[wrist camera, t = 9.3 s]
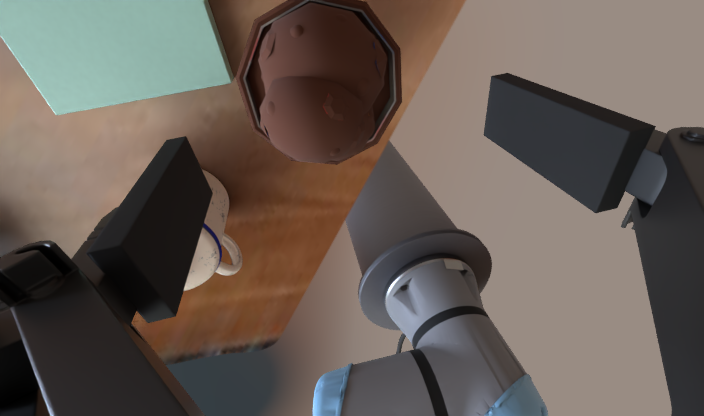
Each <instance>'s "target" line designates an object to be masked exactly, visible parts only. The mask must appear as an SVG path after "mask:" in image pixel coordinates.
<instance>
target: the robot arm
mask: <svg viewBox="0 0 704 416" xmlns="http://www.w3.org/2000/svg"><path fill="white" fill-rule="evenodd" d="M655 127H656V126H653V125H651V124H648V123H645V122H642V121H640V120H637V119H634V118H631V117H628V116H625V115H623V114H620V113H617V112H615V111H612V110H609V109H606V108H603V107H600V106H598V105H595V104H592V103H590V102H586V101H584V100H581V99H578V98H576V97H572V96H570V95H567V94H565V93H562V92H559V91H556V90H553V89H551V88H548V87H545V86H542V85H539V84H537V83H534V82H531V81H528V80H526V79H523V78H520V77H517V76H514V75H512V74H509V73H505V74H501V75H495V76H492V77H491V83H490V91H489V98H488V106H487V114H486V121H485V129H484V136H486V137H487V138H489V139H490V140H491V141H493V142H494V143H496V144H497V145H499V146H500V147H502V148H503V149H504V150H506V151H507V152H509V153H510V154H512V155H513V156H514V157H516V158H517V159H519V160H520V161H522V162H523V163H524V164H526V165H527V166H529V167H530V168H532V169H533V170H534V171H536V172H537V173H539V174H540V175H542V176H543V177H544V178H546V179H547V180H549V181H550V182H552V183H553V184H554V185H556V186H557V187H559V188H560V189H562V190H563V191H565V192H566V193H567V194H569V195H570V196H572V197H573V198H575V199H576V200H577V201H579V202H580V203H582V204H583V205H585V206H586V207H587V208H589V209H590V210H592V211H593V212H595V213H599V212H602V211H607V210H611V209H615V208H617V207H618V205H619V203H620V201H621V199H622V197H623V195H624V192H625V191H626V192H628V193H629V194H631V195H633V196H635V198H634V200H633V202H632V204H631V206H630V208H629V210H628V212H627V215H626V216H625V218H624V220H623V222H622V225H621V227H623V228H625V227H626V226H627V224H628V223H630V222H633V223H634V225H633V227H632V229H634V230H635V233H636V238H637V243H638V247H639V252H640V257H641V262H642V266H643V271H644V275H645V280H646V285H647V290H648V295H649V300H650V305H651V309H652V314H653V318H654V323H655V328H656V333H657V338H658V343H659V347H660V352H661V356H662V362H663V366H664V371H665V376H666V381H667V385H668V390H669V395H670V399H671V406H672V416H704V128H701V127H681V128H674V129H671V130H669V131H668V132H667V134H666V133H663V132H660V131H657V130H655ZM212 195H213V192H212V190H211V188H210V186H209V184H208V181H207V179H206V177H205V175H204V173H203V171H202V169H201V167H200V165H199V163H198V160H197V158H196V156H195V154H194V152H193V150H192V148H191V146H190V144H189V141H188V139H187V137H186V136H185V137H180V138H175V139H170V140H166V142H165V143H164V144H163V146H162V147H161V149H160V150H159V151H158V153H157V154H156V156H155V157H154V158H153V160H152V161H151V163H150V164H149V165H148V167H147V168H146V170H145V171H144V172H143V174H142V175H141V177H140V178H139V179H138V181H137V182H136V184H135V185H134V186H133V188H132V189H131V191H130V192H129V193H128V195H127V196H126V198H125V199H124V200H123V202H122V203H121V204H120V206H119V207H117V208H115V209H114V210H112V211H111V212H110V213H108V214H107V215H106V216H105V217H103V218H102V219H101V221H100V222H99V223H98V225H97V226H96V227H95V229H94V231H93V232H92V233H91V234H90V235H89V237H88V238H87V241H85V242H84V243H83V245H82V246H81V247H80V249H79V250H78V251H77V253H76V254H75V255H74V257H73V258H72V259H70V258H69V257H68V256H67V255H66V254H65V253H64V252H63V251H62V249H61V248H60V247H59V246H58V245H57V244H56V243H54V242H52V241H39V242H35V243H31V244H28V245H25V246H23V247H21V248H18V249H16V250H13V251H12V252H10V253H8V254H6V255H5V256H3V257H1V258H0V300H1V301H3V302H4V303H5V304H6V305H8V306H9V307H10V309H8V310H5V311H3V312H0V416H205V415H204V414H203V413H202V411H201V410H200V409H199V407H198V406H197V405H196V404H195V402H194V401H193V400H192V398H191V397H190V396H189V395H188V393H187V392H186V391H185V390H184V388H183V387H182V386H181V385H180V383H179V382H178V381H177V379H176V378H175V377H174V376H173V374H172V373H171V372H170V371H169V370H168V368H167V367H166V365H165V364H164V363H163V362H162V360H161V359H160V358H159V357H158V355H157V354H156V353H155V351H154V350H153V349H152V348H151V346H150V345H149V344H148V343H147V341H146V340H145V339H144V338H143V336H142V335H141V334H140V332H139V331H138V330H137V329H136V328H135V327H134V326H133V325H132V324H131V322H132V320H133V317H134V315H135V313H136V311H138V313H139V314H140V315H141V316H142V317H143V318H144V319H145V320H146V321H147V323H150V322H154V321H158V320H162V319H167V318H171V317H175V316H176V314H177V311H178V307H179V304H180V301H181V297H182V294H183V291H184V287H185V284H186V281H187V277H188V274H189V271H190V267H191V264H192V261H193V257H194V254H195V251H196V248H197V244H198V241H199V238H200V234H201V231H202V228H203V224H204V221H205V218H206V214H207V211H208V208H209V204H210V201H211V198H212ZM383 300H384V304H385V307H386V310H387V312H388V314H389V315H390V317H391V318H392V320H393V321H394V322H395V323H396V325H397V326H398V327H399V328H400V329H401V331H402V332H403V334H402V335H401V337H400V339H399V342H398V348H397V352H396V354H395V355H391V356H387V357H383V358H379V359H375V360H371V361H367V362H363V363H359V364H355V365H353V364H352V363H351V364H349V365H348V366H346V367H344V368H340V369H337V370H334V371H331V372H328V373H325V374H324V375H322V376H321V378H320V379H319V380H318V382H317V385H316V388H315V393H314V401H313V416H548V411H547V408H546V405H545V403H544V402H543V400H542V398H541V396H540V395H539V393H538V391H537V389H536V388H535V386H534V384H533V382H532V381H531V377H530V375H529V374H527V373H526V372H525V370H524V369H523V367H522V366H521V364H520V363H519V361H518V360H517V358H516V357H515V355H514V354H513V352H512V351H511V349H510V348H509V346H508V345H507V343H506V342H505V340H504V339H503V337H502V336H501V334H500V333H499V332H498V330H497V328H496V327H495V326H494V324H493V322H492V321H491V320H490V318H489V317H488V315H487V314H486V312H485V311H484V308H483V305H482V302H481V297H480V293H479V289H478V285H477V282H476V278H475V275H474V273H473V271H472V269H471V268H470V267H469V265H468V264H467V263H466V261H465V260H463V259H462V258H460V257H458V256H456V255H453V254H446V253H439V254H431V255H427V256H423V257H421V258H418V259H416V260H413V261H411V262H409V263H408V264H406V265H405V266H403V267H402V268H400V269H399V270H398V271H397V272H396V273H395V274H394V275H393V276H392V277H391V278H390V280H389V281H388V283H387V285H386V287H385V289H384V293H383ZM406 336H407V338H408V339H409V340H410V341H411V343H412V346H413V348H414V350H410V351H406V352H402V353H401V348H402V344H403V341H404V339H405V337H406Z"/></svg>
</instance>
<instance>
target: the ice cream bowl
mask: <svg viewBox="0 0 704 416" xmlns="http://www.w3.org/2000/svg"><path fill="white" fill-rule="evenodd" d="M236 80H237V83H238V86H239V89H240V92H241V96H242V99H243V102H244V105H245V108H246V111H247V114H248V117H249V120H250V123H251V127H252V130H253V131H254V132H256V133H257V134H258V135H260V136H261V137H262V138H263V139H265V140H266V141H267V142H268V143H270V144H271V145H272V146H274V147H275V148H276V149H277V150H279V151H280V152H281V153H282V154H284V155H285V156H286V157H288V158H289V159H290V160H291V161H301V162H312V163H325V164H336V165H337V164H339V163H341V162H343V161H345V160H347V159H349V158H351V157H353V156H354V155H356V154H359V153H360V152H362V151H364V150H366V149H368V148H370V147H372V146H374V145H375V144H377V143H378V141H379V140H380V138H381V136H382V135H383V133H384V131H385V130H386V128H387V126H388V125H389V123H390V121H391V119H392V118H393V116H394V114H395V113H396V111H397V109H398V108H399V106H400V104H401V103H402V88H401V51H400V47H399V46H398V45H397V43H396V42H395V41H394V39H393V38H392V37H391V35H390V34H389V32H388V31H387V30H386V28H385V27H384V26H383V24H382V23H381V22H380V20H379V19H378V18H377V16H376V15H375V14H374V12H373V11H372V10H371V8H370V7H369V5H368V4H367V3H366V2H363V1H359V0H287V1H286V2H284V3H282V4H281V5H279V6H277V7H275V8H274V9H272V10H270V11H269V12H267V13H265V14H264V15H262V16H260V17H259V18H257V19H255V20H254V23H253V26H252V29H251V32H250V35H249V38H248V41H247V44H246V47H245V50H244V53H243V56H242V59H241V62H240V65H239V68H238V71H237V74H236Z"/></svg>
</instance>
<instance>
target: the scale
mask: <svg viewBox="0 0 704 416" xmlns="http://www.w3.org/2000/svg"><path fill="white" fill-rule="evenodd" d="M0 36H1V37H2V39H3V40H4V41H5V43H6V44H7V46H8V47H9V49H10V50H11V51H12V53H13V54H14V56H15V57H16V59H17V60H18V61H19V63H20V64H21V66H22V67H23V69H24V70H25V71H26V73H27V74H28V76H29V77H30V79H31V80H32V81H33V83H34V84H35V86H36V87H37V88H38V90H39V91H40V93H41V94H42V96H43V97H44V98H45V100H46V101H47V103H48V104H49V106H50V107H51V108H52V110H53V111H54V113H55V114H56V115H61V114H67V113H72V112H78V111H83V110H89V109H94V108H99V107H105V106H110V105H116V104H121V103H126V102H132V101H137V100H143V99H148V98H154V97H159V96H164V95H170V94H175V93H181V92H186V91H192V90H197V89H202V88H208V87H213V86H219V85H224V84H229V83H232V81H233V79H234V77H233V74H232V71H231V68H230V65H229V62H228V59H227V56H226V53H225V50H224V47H223V44H222V41H221V38H220V35H219V32H218V29H217V26H216V23H215V20H214V17H213V14H212V11H211V8H210V5H209V2H208V0H0Z"/></svg>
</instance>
